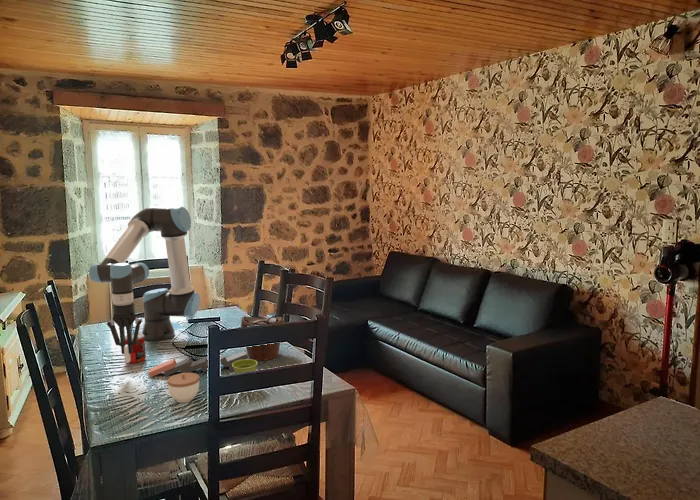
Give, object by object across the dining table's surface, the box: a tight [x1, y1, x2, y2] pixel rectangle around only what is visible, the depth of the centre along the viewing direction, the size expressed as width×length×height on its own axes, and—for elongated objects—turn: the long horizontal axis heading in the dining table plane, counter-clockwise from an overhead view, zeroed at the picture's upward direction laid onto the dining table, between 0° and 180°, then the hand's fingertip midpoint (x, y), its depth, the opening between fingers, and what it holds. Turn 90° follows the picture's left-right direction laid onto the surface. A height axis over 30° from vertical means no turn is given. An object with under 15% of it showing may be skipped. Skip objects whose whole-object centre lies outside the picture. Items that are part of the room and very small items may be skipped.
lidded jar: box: [167, 372, 200, 403], centre depth 187 cm, size 11×11×9 cm
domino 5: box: [228, 365, 235, 371], centre depth 217 cm, size 5×2×10 cm
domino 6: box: [221, 350, 249, 368], centre depth 219 cm, size 5×2×10 cm
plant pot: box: [232, 358, 258, 374], centre depth 198 cm, size 9×9×9 cm
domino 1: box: [148, 358, 177, 378], centre depth 211 cm, size 5×2×10 cm
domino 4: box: [200, 354, 227, 373], centre depth 215 cm, size 5×2×10 cm
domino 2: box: [163, 357, 192, 377], centre depth 212 cm, size 5×2×10 cm
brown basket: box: [240, 315, 285, 361], centre depth 230 cm, size 18×20×18 cm
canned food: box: [125, 332, 147, 365], centre depth 225 cm, size 8×8×11 cm
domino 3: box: [179, 357, 208, 373], centre depth 213 cm, size 5×2×10 cm
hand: (127, 361), depth 208 cm, fingers closed
